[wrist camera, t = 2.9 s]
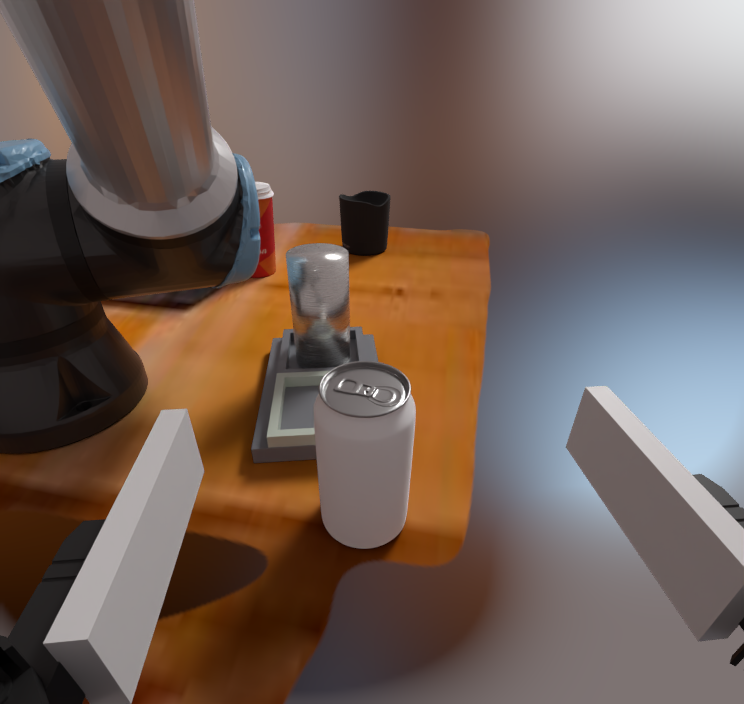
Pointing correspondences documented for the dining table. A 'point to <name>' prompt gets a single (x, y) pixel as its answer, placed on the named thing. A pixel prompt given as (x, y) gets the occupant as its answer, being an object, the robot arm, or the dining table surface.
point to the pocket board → (295, 400)
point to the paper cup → (265, 232)
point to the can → (364, 451)
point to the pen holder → (365, 222)
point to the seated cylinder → (320, 304)
